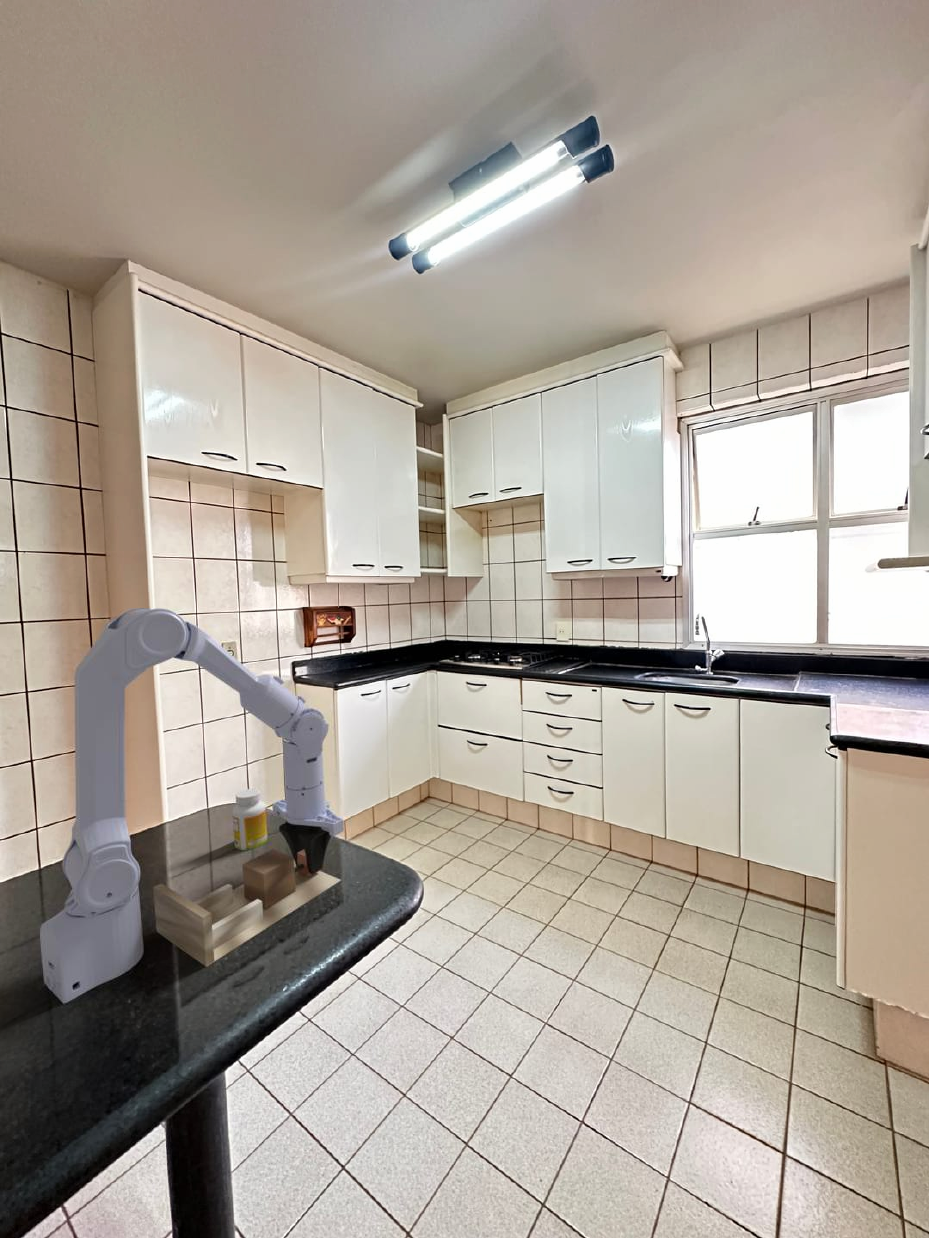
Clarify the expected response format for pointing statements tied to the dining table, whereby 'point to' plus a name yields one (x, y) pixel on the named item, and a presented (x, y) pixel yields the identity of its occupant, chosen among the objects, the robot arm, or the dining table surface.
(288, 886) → the walnut block
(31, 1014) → the dining table surface
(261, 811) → the supplement bottle
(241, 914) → the shelf lane
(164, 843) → the dining table surface
